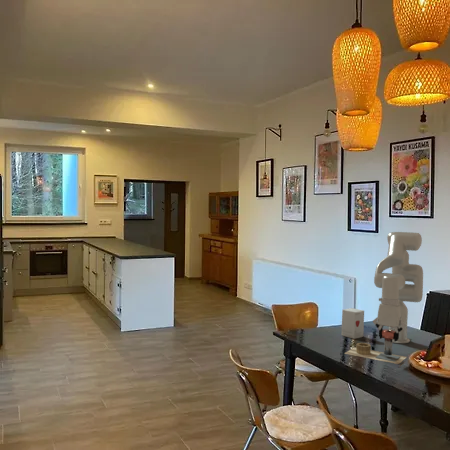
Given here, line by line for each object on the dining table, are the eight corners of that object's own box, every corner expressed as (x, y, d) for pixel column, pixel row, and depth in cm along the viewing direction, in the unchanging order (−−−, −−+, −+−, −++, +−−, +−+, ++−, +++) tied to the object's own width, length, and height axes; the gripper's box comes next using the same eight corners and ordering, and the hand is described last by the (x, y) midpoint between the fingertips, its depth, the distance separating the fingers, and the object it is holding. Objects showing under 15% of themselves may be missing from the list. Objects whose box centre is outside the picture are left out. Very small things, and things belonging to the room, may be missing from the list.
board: (354, 350, 251) (354, 339, 251) (407, 360, 236) (407, 348, 236) (344, 356, 240) (344, 345, 240) (398, 367, 225) (399, 355, 225)
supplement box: (354, 339, 273) (354, 312, 272) (340, 335, 280) (341, 309, 279) (364, 336, 278) (364, 310, 278) (350, 333, 285) (351, 307, 285)
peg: (379, 354, 234) (380, 330, 234) (383, 351, 239) (384, 327, 239) (392, 357, 230) (393, 332, 230) (396, 353, 235) (397, 330, 235)
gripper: (369, 300, 236) (368, 337, 236) (406, 305, 226) (405, 344, 226) (374, 298, 242) (373, 334, 243) (410, 303, 232) (409, 341, 233)
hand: (388, 339), depth 234 cm, fingers closed on peg, 6 cm apart
